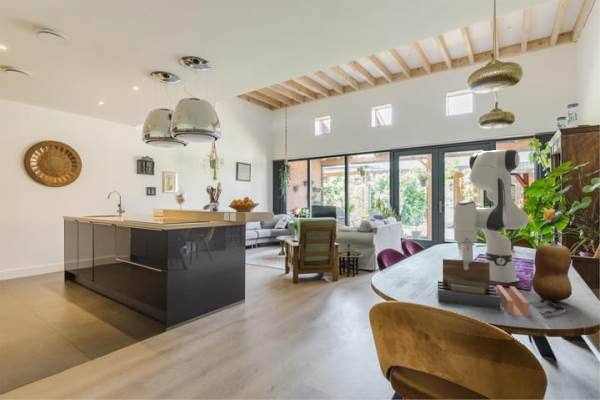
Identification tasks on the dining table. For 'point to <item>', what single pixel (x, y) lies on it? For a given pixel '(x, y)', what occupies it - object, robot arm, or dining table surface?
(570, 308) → the dining table surface
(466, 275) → the tall sheet
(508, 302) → the holder
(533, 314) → the dining table surface
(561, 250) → the butternut squash
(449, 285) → the offcut
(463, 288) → the offcut
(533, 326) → the dining table surface
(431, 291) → the dining table surface
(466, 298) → the rack
